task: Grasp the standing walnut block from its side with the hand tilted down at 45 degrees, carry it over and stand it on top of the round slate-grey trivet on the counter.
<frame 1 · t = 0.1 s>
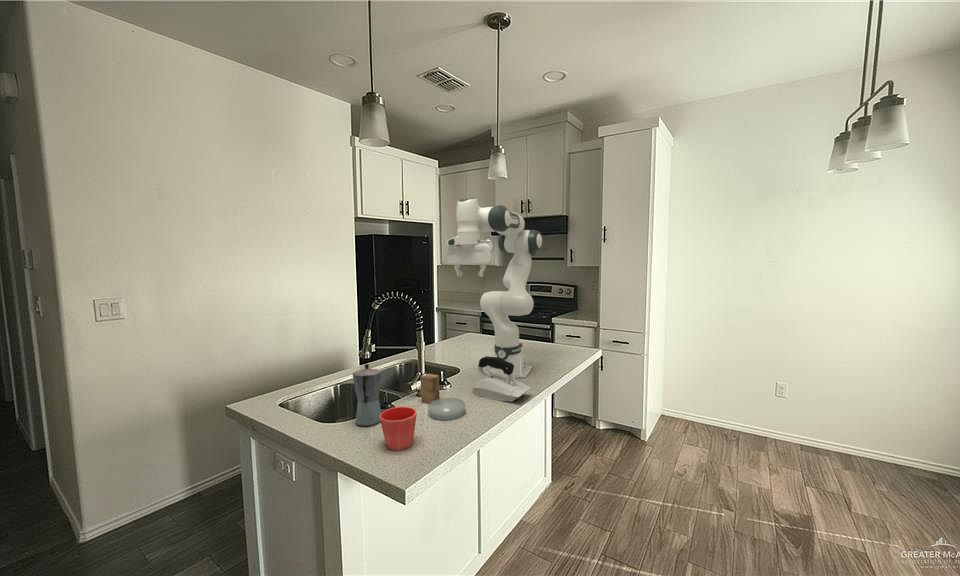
hand: (470, 276, 147), 48 cm above the counter, tool pointing down, fingers open, 8 cm apart
iron: (498, 396, 152), on the counter
walnut block: (430, 401, 148), on the counter
moka pot: (369, 422, 132), on the counter
trivet: (447, 412, 137), on the counter
flower pot: (399, 444, 116), on the counter
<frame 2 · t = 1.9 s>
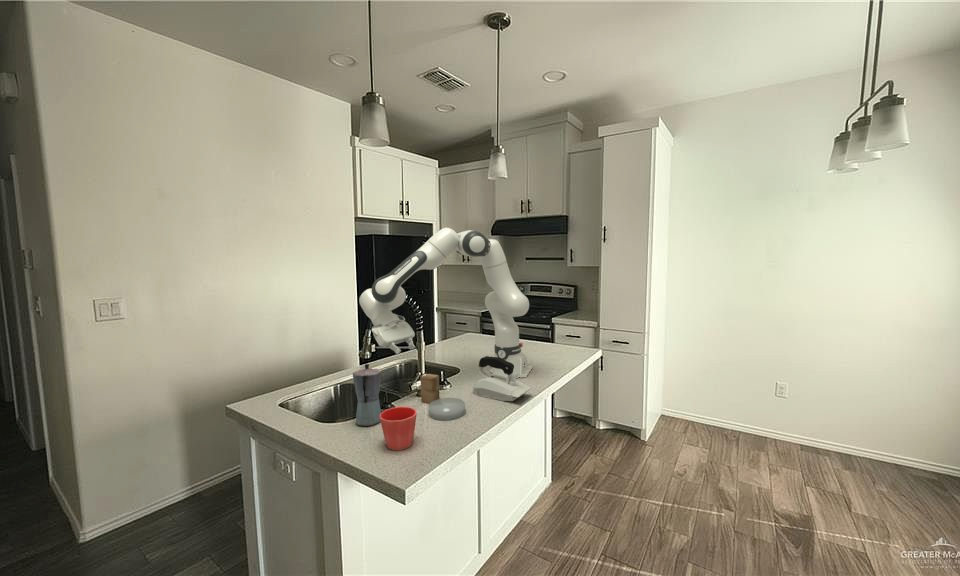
hand: (406, 350, 150), 19 cm above the counter, tool tilted 45°, fingers open, 8 cm apart
nothing on the counter moved.
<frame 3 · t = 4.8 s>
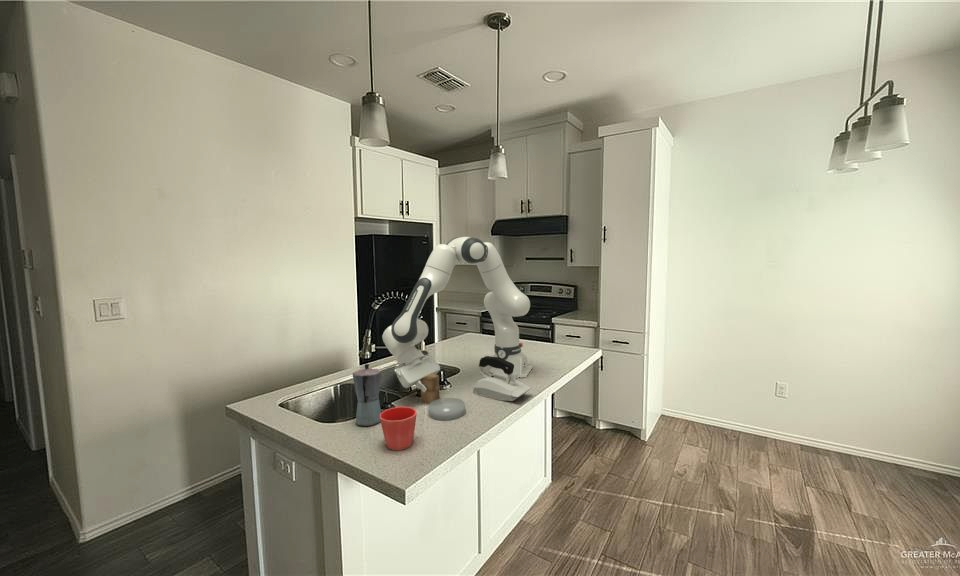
hand: (431, 388, 148), 5 cm above the counter, tool tilted 45°, fingers closed on walnut block, 5 cm apart
walnut block: (430, 401, 148), on the counter, touching gripper
everything else where it was.
when the fingers open (10 cm above the counter, at t = 9.4 s): walnut block drops 1 cm, resting on trivet.
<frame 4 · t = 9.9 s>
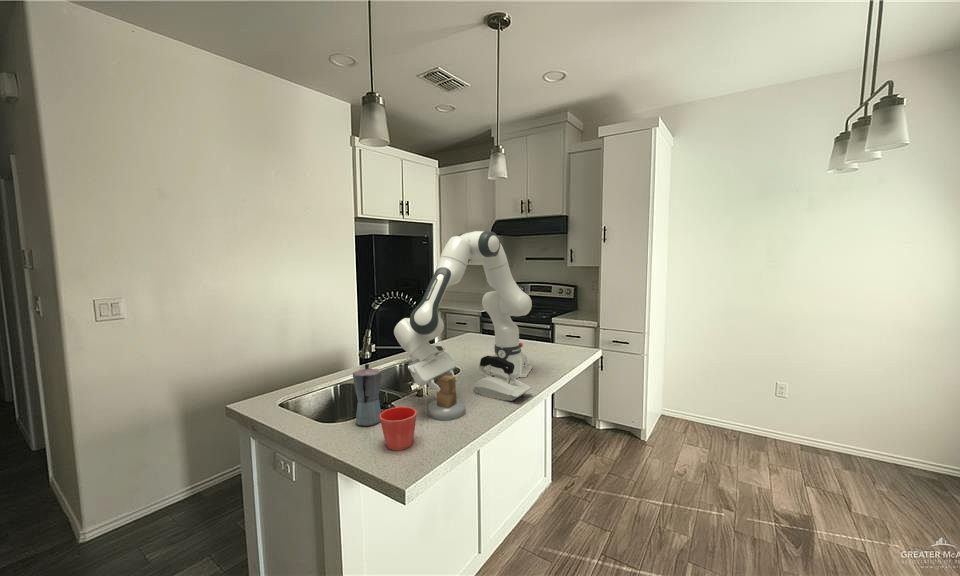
hand: (447, 386, 136), 10 cm above the counter, tool tilted 45°, fingers open, 8 cm apart
walnut block: (446, 404, 137), point 3 cm above the counter, touching trivet
everything else where it was.
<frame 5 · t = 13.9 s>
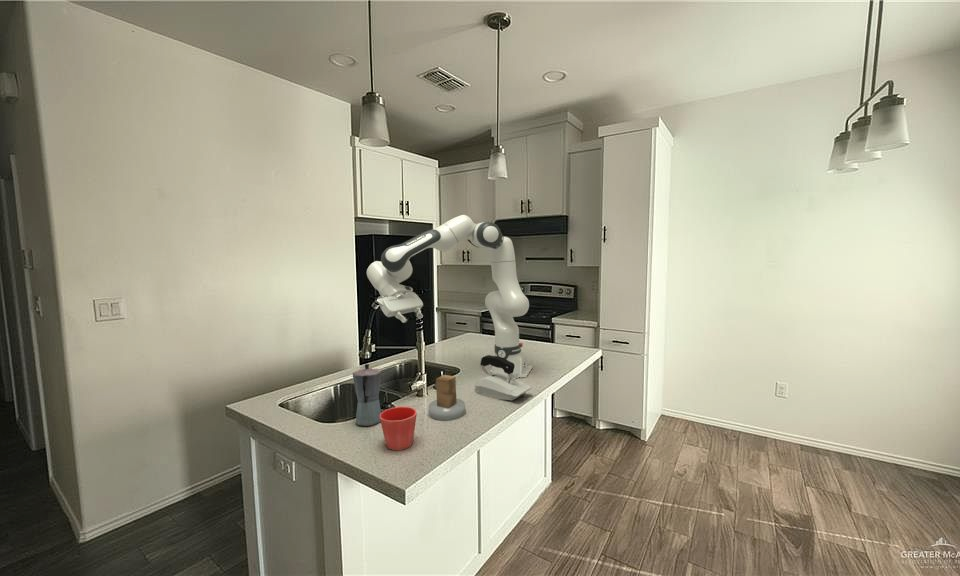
hand: (413, 319, 151), 31 cm above the counter, tool tilted 45°, fingers open, 8 cm apart
at the end: walnut block inside the target area on the trivet (0.1 cm from its centre), point 3.0 cm above the trivet's base; walnut block tilted 0°; the gripper is holding nothing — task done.
